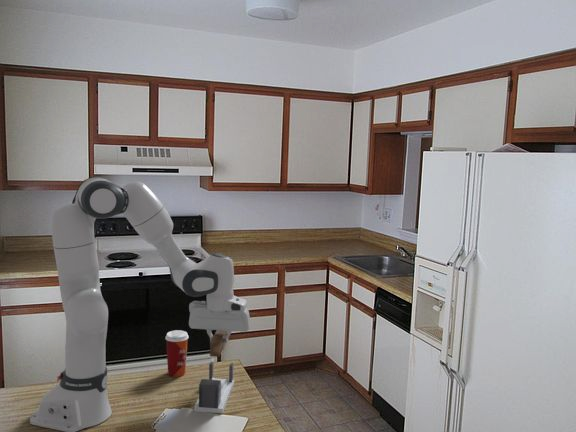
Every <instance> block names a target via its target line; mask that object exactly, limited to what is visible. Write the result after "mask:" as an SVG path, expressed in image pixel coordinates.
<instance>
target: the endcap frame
mask: <svg viewBox="0 0 576 432" xmlns="http://www.w3.org/2000/svg"><path fill="white" fill-rule="evenodd" d="M214 364H215V363H214V361H210V362H209V367H208V371H209V372H208V378H207V379H205V378H204V379H203V378H202V379H200V382H199V383H198V386H199V387H198V398H197V400H196V402H195V404H194V407H193V411H194V412H197V413H199V412H200V413H210V414H211V413H213V414H223V413H224V411H225V409H226V405H227V403H228V401H229V398H230V396H231V393H232V391H233V388H234V386H235V379H234V363H233V362H230V363H229V366H228V369H229V370H228V378H215V377H214Z"/></svg>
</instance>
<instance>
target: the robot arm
mask: <svg viewBox="0 0 576 432" xmlns="http://www.w3.org/2000/svg"><path fill="white" fill-rule="evenodd" d="M71 203H72V204H67V205H63V206H61V207H59V208H57V209H55V211H54V212H53V213H52V216H51V219H52V220H51V238H52V246H53V253H54V258H55V264H56V270H57V276H58V277H57V278H58V283H59V290H60V297H61V302H62V303H61V304H62V309H63V311H64V316H65V321H66V323H65V324H66V326H65V327H66V329H65V332H66V334H65V346H64V352H65V353H64V358H65V361H64V363H65V365H64V366H65V368H64V370H63V371H61V372H60V374H59V375H58V376H57V377H56V381H57V382H58V383H57V384H56V385H55V386H54V387H52V388H51V389H49V390H48V391H47V392H45V394H44V395H43V396H42V398H41V399H40V402H39V406H38V407H37V409H35V410H34V412H32V414H31V416H30V418H29V424H30V425H31V426H32V425H33V426H37V427H41V428H47V429H50V430H51V429H52V430H57V431H61V432H79V431H82V430H83V429H85V428H91V427H94V426H97V425H99V424H102V423H103V422H105V421H107V420H108V419H109V418H110V417H111V415H112V413H113V411H112V408H111V404H110V401H109V397H108V395H109V394H108V391H107V390H108V389H107V388H108V381H109V380H108V368H107V366H106V343H107V342H106V341H107V333H108V324H109V322H108V321H109V308H108V305H107V302H106V301H105V299H104V297H103V295H102V291H101V283H100V264H99V257H98V250H97V244H96V238H95V232H94V224H95V222H96V220H97V219H99V220H100V219H101V220H102V219H103V220H105V219H108V218H112V217H115V216H118V215H122V216H124V217H125V218H126V220H127V221H128V222H129V223H130V226H132V227H133V229H134V230H135V231H136V233H137V234H138V235H139V236H140V237H141V238H142V239H143V240H144V241H146V243H148V244H150V245H152V246H153V247H155V249H156V250H157V252H159V254H160V255H161V258H163V260H164V262H166V264H167V266H168V268H169V273H170V278H171V281H172V283H174V285H175V286H176V287H178V288H179V289H181V291H183V292H184V293H185V294H186V295H187V296H189V297H192V298H198V297H203V296H206V300H201V301H200V300H193V301H191V302H190V303H189V306H188V309H189V310H188V311H189V320H188V326H189V328H190V329H195V330H196V329H197V330H206V333H207V335H208V337H209V342H210V341H211V339H212V338H213V336H214V334H213V333H212V332H213V331H217V330H224V331H227V334H228V335H227V336H224V338H223V343H226V344H229V343H228V342H229V337H230V336H231V334H232V332H239V333H241V332H243V333H247V332H248V331H249V330H250V328H251V318H250V311H249V308H247V307H248V306H247V305H248V301H247V299H244V298H241V297H239V296H236V295H234V294H235V293H234V288H233V285H234V282H235V269H234V268H235V267H234V261H233V259H232V258H231V257H230V256H228V255H227V254H223V253H217V252H215V253H210V254H209V255H208V256H207V257H206V258H204V259H203V260H201V261H200V262H198V263H197V262H196V261H195V260H193V259H192V258H190V257H188V256H186V255H185V253H184V252H183V250H182V249H181V248H180V246H179V245H178V243H177V241H176V240H175V238H174V235H173V229H174V222H173V220H172V218H171V216H170V214H169V212H168V210H167V209H166V207H165V205H164V204H163V203H162V201H161V200H160V199H159V198H158V196H157V195H156V194H155V193H154V192H153V191H152V190H151V188H150V187H148V185H147V184H146V183H144V182H142V181H130V182H128V183H126V184H125V185H123V186H119V185H116V184H115V183H114V182H112V181H111V180H109V179H106V178H104V177H100V176H91V177H88V178H86V179H84V180H83V181H82V182H81V183H80V184H79V186H78V187H77V190H76V192H75V194H74V196H73V199H72V202H71Z"/></svg>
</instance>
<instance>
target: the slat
mask: <svg viewBox="0 0 576 432" xmlns="http://www.w3.org/2000/svg"><path fill="white" fill-rule="evenodd" d="M227 335H228V334H227V331H224V330H215V333H214V334H213V338H212V339H211V341H210V340H209V357H214V358H220V357H221V354H222V352H223V350H224V348H225V346H226V344H227V343H223V338H224V336H227Z"/></svg>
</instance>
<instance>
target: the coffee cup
mask: <svg viewBox="0 0 576 432" xmlns="http://www.w3.org/2000/svg"><path fill="white" fill-rule="evenodd" d="M189 338H190V337H189V335H188V332H187V331H185V330H181V329H180V330H179V329H178V330H177V329H175V330H171V331H168V332H167V333H166V336H165V343H166V344H165V345H166V358H167V359H166V361H167V373H168V374H167V375H168V376H169V377H172V378H179V377H182V376H184V375H185V374H186V367H187V366H186V365H187V354H188V341H189V340H188V339H189Z"/></svg>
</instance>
